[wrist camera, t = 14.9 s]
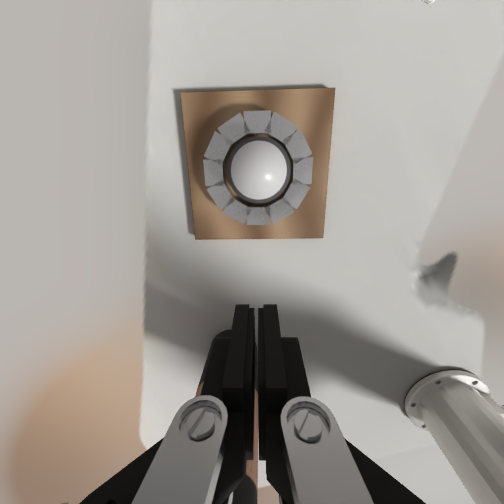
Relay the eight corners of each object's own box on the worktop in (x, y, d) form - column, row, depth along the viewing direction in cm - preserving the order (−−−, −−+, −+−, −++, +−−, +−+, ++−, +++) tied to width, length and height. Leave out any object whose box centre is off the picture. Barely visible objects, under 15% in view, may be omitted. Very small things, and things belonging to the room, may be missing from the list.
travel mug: (249, 373, 39) (240, 564, 20) (203, 359, 39) (151, 544, 20) (265, 336, 37) (272, 515, 18) (217, 321, 36) (172, 490, 17)
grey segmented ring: (311, 113, 26) (315, 109, 24) (305, 220, 29) (309, 224, 28) (203, 116, 26) (199, 112, 24) (211, 221, 30) (208, 225, 28)
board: (332, 91, 26) (335, 87, 25) (320, 235, 31) (323, 238, 30) (183, 95, 26) (180, 92, 25) (197, 236, 32) (195, 239, 31)
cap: (286, 142, 27) (293, 136, 22) (283, 198, 29) (289, 204, 23) (232, 142, 27) (226, 135, 22) (232, 197, 29) (227, 203, 24)
